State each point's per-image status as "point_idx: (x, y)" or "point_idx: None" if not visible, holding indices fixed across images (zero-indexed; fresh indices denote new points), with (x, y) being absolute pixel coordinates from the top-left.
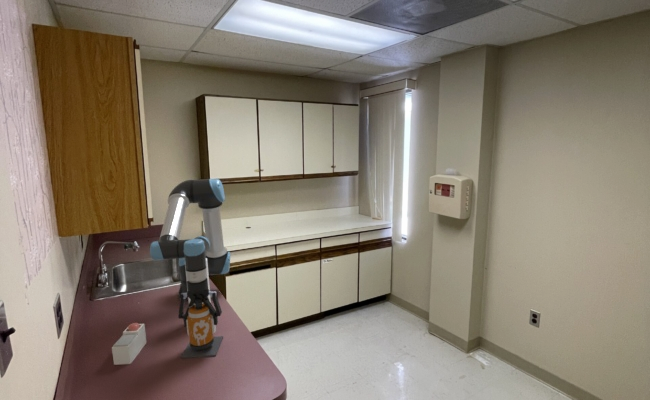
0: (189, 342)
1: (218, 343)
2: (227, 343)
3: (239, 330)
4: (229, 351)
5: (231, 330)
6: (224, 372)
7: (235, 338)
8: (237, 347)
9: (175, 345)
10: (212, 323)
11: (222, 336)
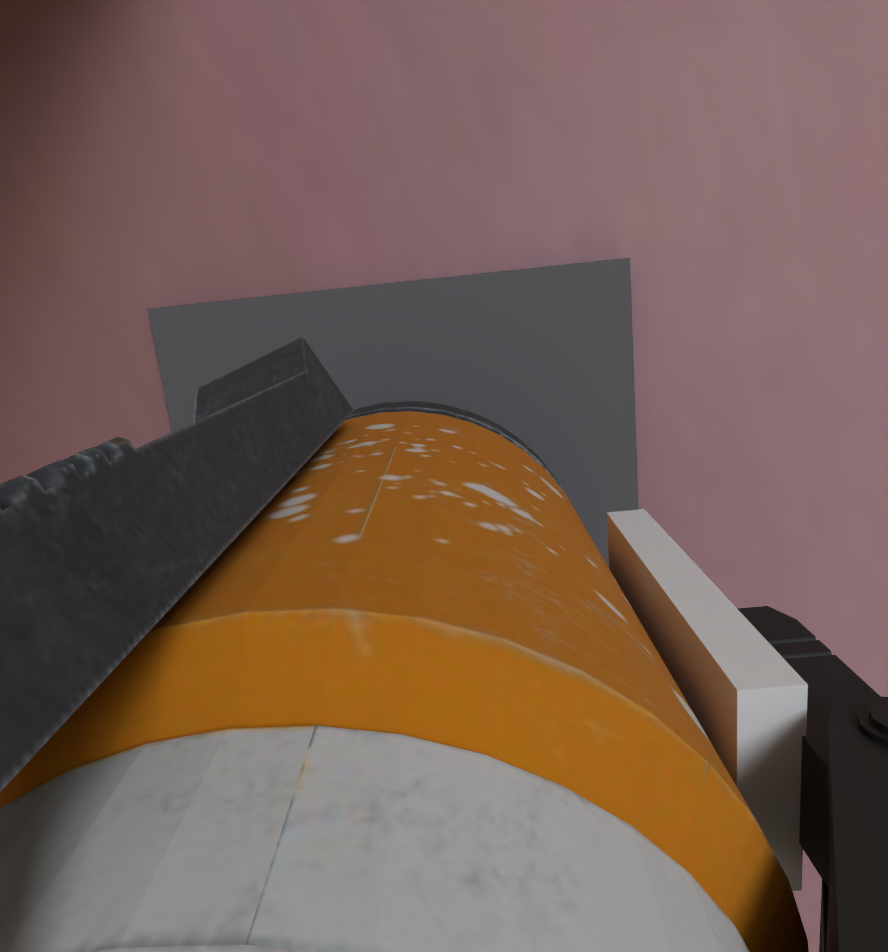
0: (176, 429)
1: (611, 456)
2: (725, 417)
3: (851, 28)
4: (790, 595)
5: (709, 27)
6: (806, 929)
7: (820, 285)
8: (883, 512)
9: (7, 459)
10: None
11: (621, 265)
